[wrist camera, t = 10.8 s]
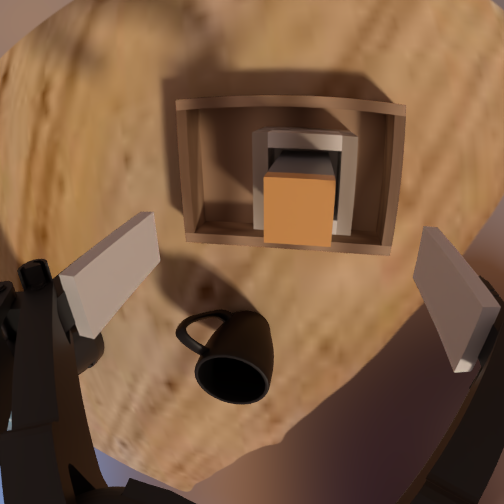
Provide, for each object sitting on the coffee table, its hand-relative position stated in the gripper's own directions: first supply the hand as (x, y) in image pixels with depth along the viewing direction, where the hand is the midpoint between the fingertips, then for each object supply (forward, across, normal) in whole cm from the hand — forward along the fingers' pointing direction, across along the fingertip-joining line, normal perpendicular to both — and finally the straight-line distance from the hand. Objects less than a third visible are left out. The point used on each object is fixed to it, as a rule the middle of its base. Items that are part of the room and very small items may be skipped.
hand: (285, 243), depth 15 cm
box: (+18, -1, 0) cm, 18 cm away
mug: (+18, -7, -19) cm, 27 cm away
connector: (+15, +1, 0) cm, 15 cm away
